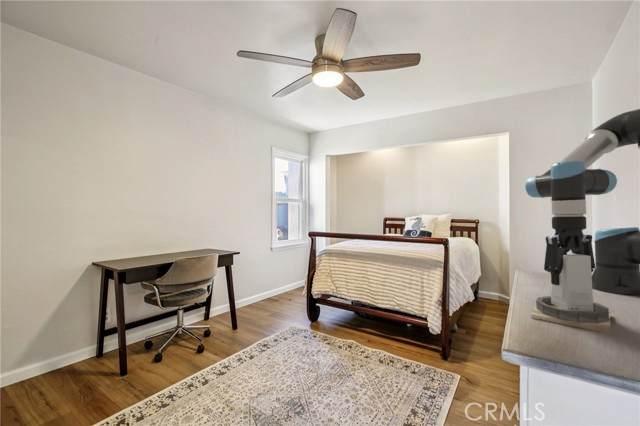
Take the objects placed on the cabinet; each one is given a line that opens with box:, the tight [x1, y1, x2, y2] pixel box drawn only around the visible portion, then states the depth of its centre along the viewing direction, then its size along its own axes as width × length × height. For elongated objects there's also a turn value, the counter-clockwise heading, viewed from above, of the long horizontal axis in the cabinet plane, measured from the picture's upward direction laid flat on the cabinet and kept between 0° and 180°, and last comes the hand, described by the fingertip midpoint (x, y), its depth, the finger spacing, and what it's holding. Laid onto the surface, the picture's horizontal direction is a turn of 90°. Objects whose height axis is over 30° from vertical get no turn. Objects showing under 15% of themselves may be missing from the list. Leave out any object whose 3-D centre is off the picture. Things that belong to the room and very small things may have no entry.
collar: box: [530, 295, 612, 334], centre depth 83 cm, size 16×16×4 cm
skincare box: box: [548, 252, 594, 312], centre depth 83 cm, size 8×7×16 cm
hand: (570, 294), depth 83 cm, fingers closed on skincare box, 8 cm apart
